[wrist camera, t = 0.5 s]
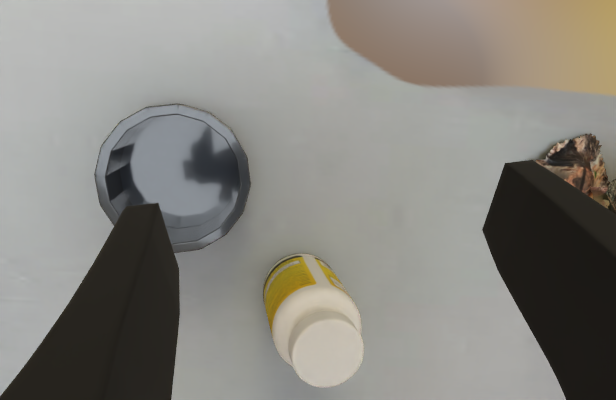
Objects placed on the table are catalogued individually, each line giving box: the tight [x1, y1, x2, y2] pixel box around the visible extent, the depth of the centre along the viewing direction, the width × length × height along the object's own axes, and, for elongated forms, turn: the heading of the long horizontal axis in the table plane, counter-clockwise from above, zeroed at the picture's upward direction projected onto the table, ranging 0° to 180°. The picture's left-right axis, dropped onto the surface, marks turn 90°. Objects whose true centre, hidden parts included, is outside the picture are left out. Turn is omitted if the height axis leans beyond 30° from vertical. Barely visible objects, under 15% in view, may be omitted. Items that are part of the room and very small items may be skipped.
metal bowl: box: [94, 104, 251, 253], centre depth 30 cm, size 9×9×4 cm
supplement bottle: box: [263, 254, 364, 388], centre depth 31 cm, size 5×5×10 cm
